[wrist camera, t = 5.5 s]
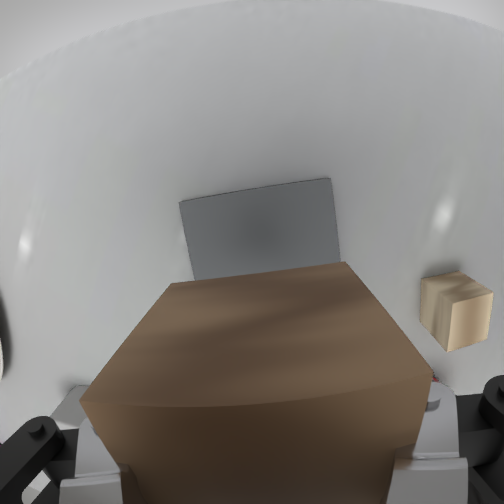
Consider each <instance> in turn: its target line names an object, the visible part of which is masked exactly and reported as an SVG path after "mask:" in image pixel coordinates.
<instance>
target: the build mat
mask: <svg viewBox="0 0 504 504" xmlns="http://www.w3.org/2000/svg"><path fill="white" fill-rule="evenodd" d="M179 206H180V211H181V217H182V222H183V227H184V232H185V237H186V242H187V246H188V251H189V256H190V261H191V265H192V270H193V274H194V279H195V281H196V280H205V279H213V278H222V277H230V276H238V275H246V274H254V273H262V272H270V271H278V270H286V269H293V268H301V267H308V266H316V265H323V264H330V263H337V262H340V252H339V242H338V232H337V224H336V215H335V207H334V199H333V192H332V185H331V178H325V179H317V180H310V181H302V182H295V183H288V184H281V185H275V186H268V187H262V188H255V189H249V190H243V191H237V192H231V193H225V194H220V195H214V196H209V197H203V198H198V199H193V200H187V201H182V202H179Z"/></svg>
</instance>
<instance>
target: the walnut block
mask: <svg viewBox="0 0 504 504" xmlns="http://www.w3.org/2000/svg"><path fill="white" fill-rule="evenodd" d="M432 377H433V370H432V369H431V368H430V366H429V365H428V364H427V362H426V361H425V360H424V358H423V357H422V356H421V354H420V353H419V352H418V350H417V349H416V348H415V346H414V345H413V344H412V343H411V341H410V340H409V339H408V337H407V336H406V335H405V334H404V332H403V331H402V330H401V329H400V327H399V326H398V325H397V323H396V322H395V321H394V320H393V318H392V317H391V316H390V315H389V313H388V312H387V311H386V310H385V309H384V307H383V306H382V305H381V304H380V302H379V301H378V300H377V299H376V298H375V296H374V295H373V294H372V293H371V291H370V290H369V289H368V288H367V287H366V285H365V284H364V283H363V282H362V281H361V280H360V278H359V277H358V276H357V275H356V274H355V272H354V271H353V270H352V269H351V268H350V267H349V265H348V264H347V263H346V262H337V263H330V264H323V265H316V266H308V267H301V268H293V269H286V270H278V271H270V272H262V273H254V274H246V275H238V276H230V277H222V278H213V279H205V280H196V281H188V282H179V283H171V284H170V286H169V287H168V288H167V289H166V290H165V292H164V293H163V294H162V295H161V296H160V298H159V299H158V300H157V301H156V302H155V304H154V305H153V306H152V307H151V309H150V310H149V311H148V312H147V313H146V315H145V316H144V317H143V318H142V320H141V321H140V322H139V323H138V325H137V326H136V327H135V328H134V330H133V331H132V332H131V333H130V335H129V336H128V337H127V338H126V340H125V341H124V342H123V343H122V345H121V346H120V347H119V348H118V350H117V351H116V352H115V354H114V355H113V356H112V357H111V359H110V360H109V361H108V363H107V364H106V365H105V366H104V368H103V369H102V370H101V372H100V373H99V374H98V376H97V377H96V378H95V379H94V381H93V382H92V383H91V385H90V386H89V387H88V389H87V390H86V391H85V393H84V394H83V395H82V397H81V398H80V399H79V402H80V404H81V406H82V408H83V409H84V411H85V413H86V415H87V417H88V419H89V420H90V422H91V424H92V426H93V427H94V429H95V431H96V433H97V434H98V436H99V438H100V439H101V441H102V443H103V444H104V446H105V447H106V449H107V451H108V452H109V454H110V455H111V457H112V458H113V460H114V461H115V462H117V463H124V464H129V466H130V468H131V469H132V471H133V472H134V474H135V475H136V476H137V481H138V485H139V488H140V491H141V493H142V495H143V497H144V499H145V500H146V501H147V503H148V504H379V503H380V500H381V498H383V495H384V492H385V489H386V486H387V483H388V479H389V475H390V471H391V466H392V461H393V458H394V454H395V450H396V448H399V447H402V446H406V445H409V444H413V443H416V442H417V439H418V435H419V432H420V428H421V425H422V421H423V417H424V413H425V409H426V405H427V401H428V396H429V392H430V387H431V382H432Z"/></svg>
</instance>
